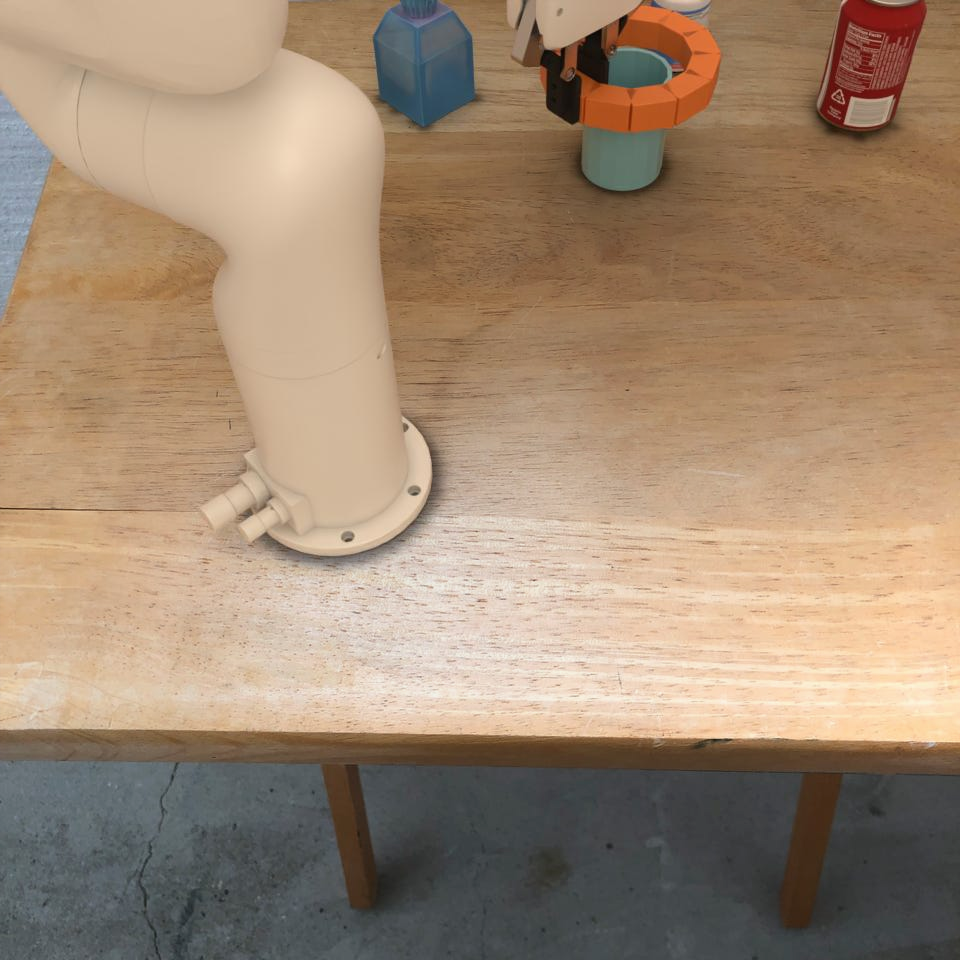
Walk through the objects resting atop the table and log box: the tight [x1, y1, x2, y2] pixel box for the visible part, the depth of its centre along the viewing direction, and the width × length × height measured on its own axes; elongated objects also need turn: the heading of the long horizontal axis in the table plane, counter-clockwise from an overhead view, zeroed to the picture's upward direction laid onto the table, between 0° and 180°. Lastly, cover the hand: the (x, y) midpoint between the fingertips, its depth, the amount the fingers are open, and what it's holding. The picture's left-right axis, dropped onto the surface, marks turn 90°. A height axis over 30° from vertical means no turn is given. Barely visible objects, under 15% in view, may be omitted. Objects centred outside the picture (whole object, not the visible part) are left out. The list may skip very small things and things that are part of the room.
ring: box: [539, 4, 722, 133], centre depth 86 cm, size 14×14×2 cm
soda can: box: [816, 0, 928, 132], centre depth 93 cm, size 7×7×12 cm
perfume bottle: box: [372, 0, 476, 128], centre depth 96 cm, size 6×6×12 cm
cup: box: [580, 47, 673, 192], centre depth 91 cm, size 7×7×9 cm
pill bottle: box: [645, 0, 712, 73], centre depth 100 cm, size 6×5×10 cm
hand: (576, 106), depth 85 cm, fingers closed on ring, 2 cm apart
